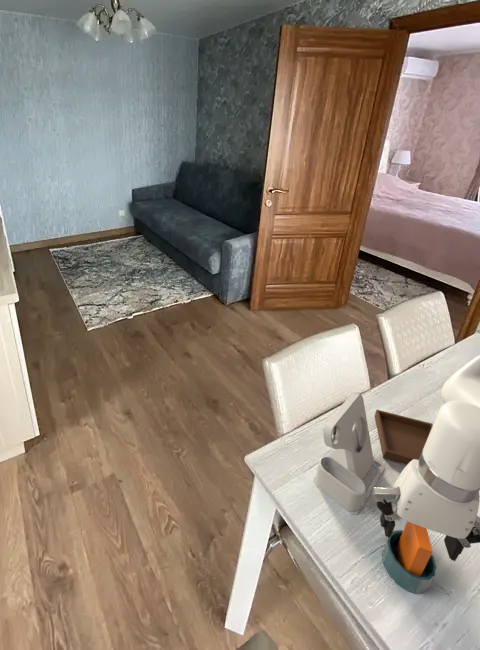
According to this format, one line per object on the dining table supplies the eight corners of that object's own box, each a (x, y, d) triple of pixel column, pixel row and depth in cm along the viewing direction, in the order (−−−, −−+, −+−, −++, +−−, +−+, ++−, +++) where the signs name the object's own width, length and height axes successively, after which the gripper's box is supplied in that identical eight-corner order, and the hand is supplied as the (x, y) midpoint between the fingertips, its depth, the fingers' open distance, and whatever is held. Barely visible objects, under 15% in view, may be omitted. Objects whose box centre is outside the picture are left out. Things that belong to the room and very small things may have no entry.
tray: (429, 430, 92) (432, 423, 91) (446, 476, 80) (450, 469, 79) (374, 415, 96) (376, 409, 95) (383, 458, 85) (385, 451, 84)
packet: (407, 552, 66) (423, 516, 62) (415, 588, 61) (433, 552, 57) (395, 548, 67) (410, 512, 63) (402, 583, 62) (419, 547, 58)
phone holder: (354, 521, 72) (373, 461, 65) (309, 483, 79) (322, 426, 72) (385, 467, 82) (404, 411, 76) (343, 438, 89) (357, 385, 83)
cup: (421, 555, 66) (428, 539, 64) (433, 603, 60) (442, 587, 58) (378, 539, 69) (384, 524, 67) (385, 584, 62) (392, 568, 60)
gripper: (503, 470, 55) (467, 536, 61) (381, 436, 60) (359, 499, 67) (529, 520, 48) (485, 587, 55) (390, 476, 54) (365, 542, 60)
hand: (416, 539), depth 61 cm, fingers open, 9 cm apart
